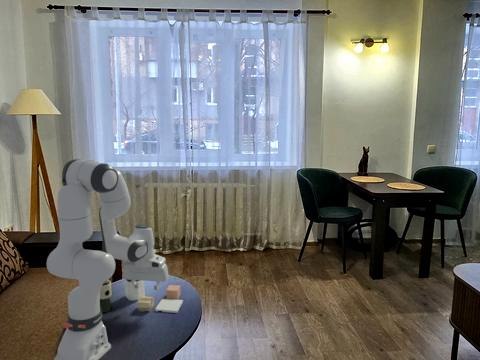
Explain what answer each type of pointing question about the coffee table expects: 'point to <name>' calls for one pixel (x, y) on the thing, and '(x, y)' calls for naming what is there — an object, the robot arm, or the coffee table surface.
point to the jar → (134, 290)
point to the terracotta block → (173, 292)
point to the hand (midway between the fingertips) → (146, 288)
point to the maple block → (145, 303)
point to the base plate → (169, 305)
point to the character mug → (105, 296)
